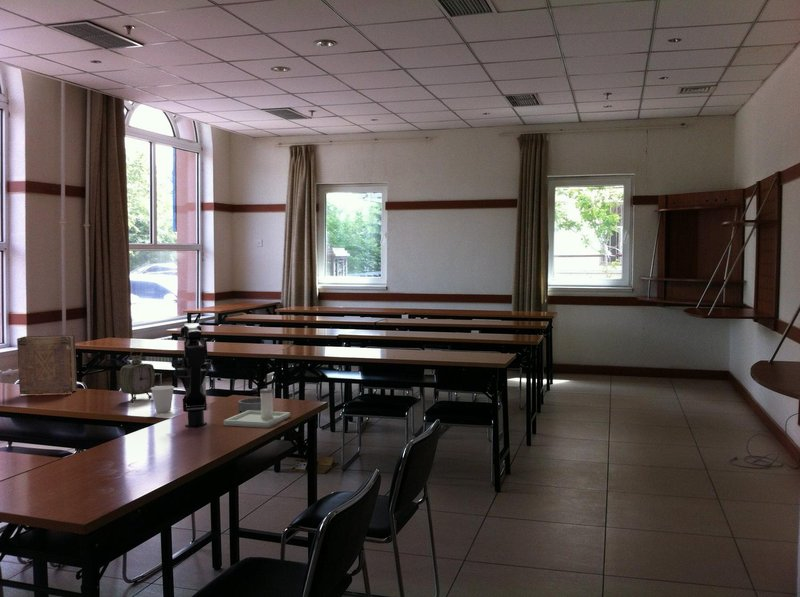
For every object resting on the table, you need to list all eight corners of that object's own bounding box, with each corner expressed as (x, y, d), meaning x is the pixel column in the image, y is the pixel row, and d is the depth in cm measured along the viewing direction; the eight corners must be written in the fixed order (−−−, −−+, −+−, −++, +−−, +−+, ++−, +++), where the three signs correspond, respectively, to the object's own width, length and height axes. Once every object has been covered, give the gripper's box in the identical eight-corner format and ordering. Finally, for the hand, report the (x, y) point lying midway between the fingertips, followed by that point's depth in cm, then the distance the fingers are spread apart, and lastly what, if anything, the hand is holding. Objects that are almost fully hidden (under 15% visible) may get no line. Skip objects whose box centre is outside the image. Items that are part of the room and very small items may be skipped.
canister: (261, 419, 291) (260, 391, 290) (260, 417, 296) (259, 388, 295) (274, 418, 292) (273, 390, 291) (272, 416, 297) (272, 388, 296)
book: (77, 391, 370) (75, 334, 369) (72, 394, 361) (70, 336, 360) (25, 393, 366) (23, 336, 364) (19, 396, 357) (17, 338, 355)
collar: (261, 413, 307) (260, 404, 307) (232, 411, 311) (232, 402, 311) (275, 406, 321) (275, 398, 320) (248, 405, 325) (248, 397, 324)
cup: (167, 414, 308) (166, 389, 307) (147, 413, 310) (146, 389, 309) (179, 409, 318) (178, 385, 317) (159, 409, 320) (158, 385, 319)
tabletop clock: (131, 403, 334) (129, 351, 333) (118, 401, 339) (116, 350, 337) (155, 398, 347) (153, 348, 345) (143, 396, 351) (141, 347, 350)
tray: (267, 427, 280) (267, 422, 279) (223, 425, 285) (223, 420, 285) (290, 417, 299) (290, 412, 299) (248, 414, 305) (248, 410, 304)
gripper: (188, 348, 305) (189, 383, 307) (162, 355, 288) (163, 392, 289) (211, 349, 302) (212, 385, 303) (185, 356, 284) (186, 394, 286)
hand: (193, 389), depth 295 cm, fingers open, 9 cm apart
